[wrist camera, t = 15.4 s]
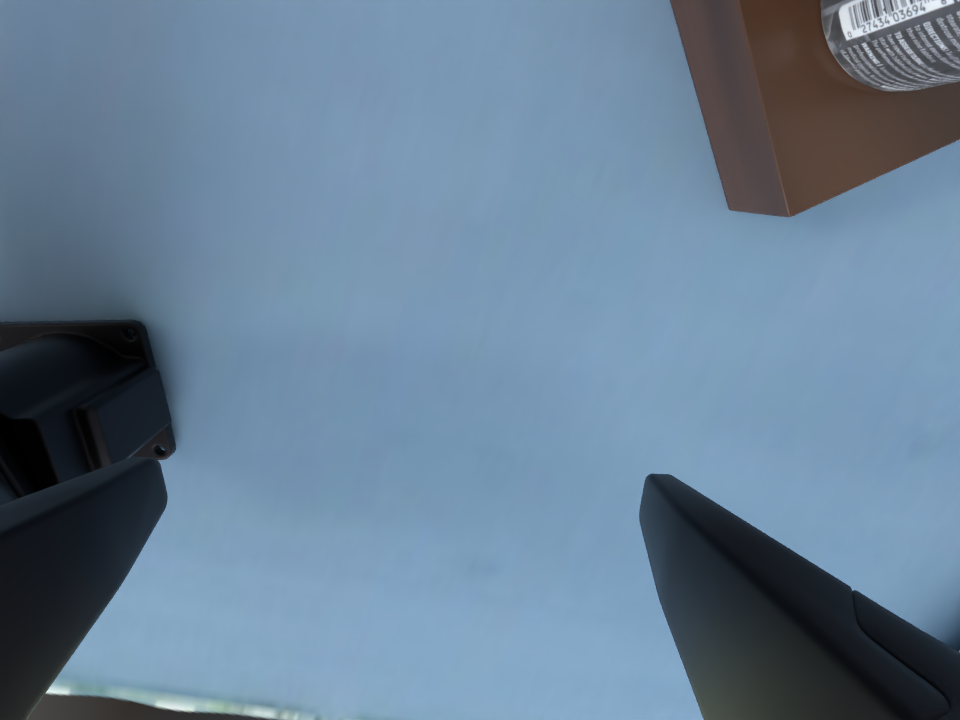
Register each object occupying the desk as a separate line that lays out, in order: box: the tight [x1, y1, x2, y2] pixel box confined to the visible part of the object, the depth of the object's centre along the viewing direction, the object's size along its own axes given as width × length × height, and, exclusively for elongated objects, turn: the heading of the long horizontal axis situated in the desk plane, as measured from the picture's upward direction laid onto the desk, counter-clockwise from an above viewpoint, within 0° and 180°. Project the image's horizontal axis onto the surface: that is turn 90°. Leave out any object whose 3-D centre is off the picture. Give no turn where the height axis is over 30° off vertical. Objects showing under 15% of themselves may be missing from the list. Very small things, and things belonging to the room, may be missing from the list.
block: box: [670, 0, 960, 217], centre depth 16 cm, size 10×10×4 cm
